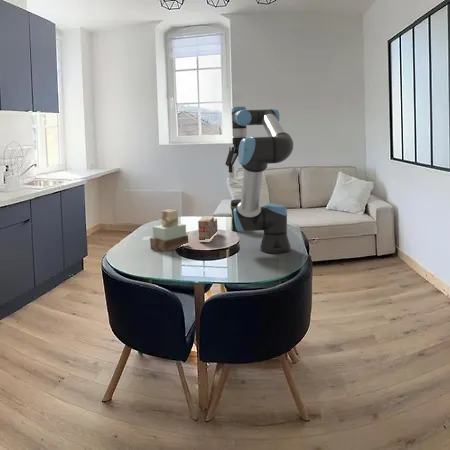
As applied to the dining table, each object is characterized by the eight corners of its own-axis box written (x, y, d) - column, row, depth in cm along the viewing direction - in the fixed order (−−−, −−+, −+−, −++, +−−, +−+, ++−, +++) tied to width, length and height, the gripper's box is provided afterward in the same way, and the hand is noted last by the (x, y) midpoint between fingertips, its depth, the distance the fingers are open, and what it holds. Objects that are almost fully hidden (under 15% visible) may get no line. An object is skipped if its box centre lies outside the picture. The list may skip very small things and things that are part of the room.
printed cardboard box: (207, 233, 293) (206, 213, 291) (217, 234, 292) (217, 213, 289) (198, 242, 273) (197, 220, 270) (210, 243, 271) (209, 220, 269)
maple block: (178, 225, 263) (177, 210, 261) (169, 227, 258) (169, 212, 257) (169, 223, 267) (169, 209, 265) (161, 226, 262) (160, 211, 261)
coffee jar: (246, 228, 304) (246, 198, 300) (247, 231, 296) (247, 200, 292) (230, 228, 303) (229, 198, 300) (231, 231, 296) (230, 200, 292)
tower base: (188, 246, 267) (188, 235, 266) (165, 252, 255) (165, 241, 254) (173, 243, 275) (173, 232, 274) (150, 249, 263) (150, 238, 262)
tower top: (186, 235, 265) (185, 224, 264) (165, 240, 256) (164, 229, 254) (174, 233, 272) (173, 222, 271) (153, 237, 263) (152, 226, 261)
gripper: (249, 135, 273) (250, 174, 278) (217, 138, 255) (219, 179, 260) (260, 135, 268) (260, 175, 272) (228, 138, 250) (229, 180, 255)
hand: (240, 177), depth 266 cm, fingers open, 13 cm apart
